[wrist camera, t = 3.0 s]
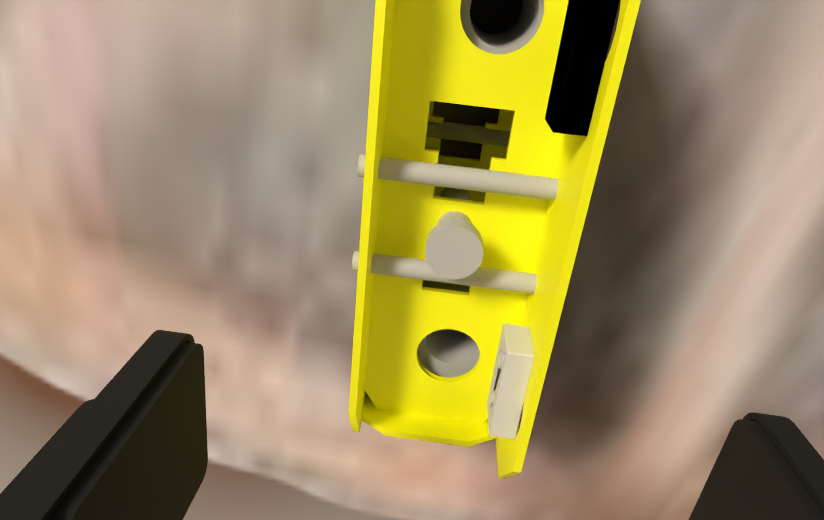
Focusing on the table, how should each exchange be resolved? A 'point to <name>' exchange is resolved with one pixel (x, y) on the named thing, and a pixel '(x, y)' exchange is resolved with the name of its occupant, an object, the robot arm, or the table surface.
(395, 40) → the yellow toy chassis
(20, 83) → the table surface
